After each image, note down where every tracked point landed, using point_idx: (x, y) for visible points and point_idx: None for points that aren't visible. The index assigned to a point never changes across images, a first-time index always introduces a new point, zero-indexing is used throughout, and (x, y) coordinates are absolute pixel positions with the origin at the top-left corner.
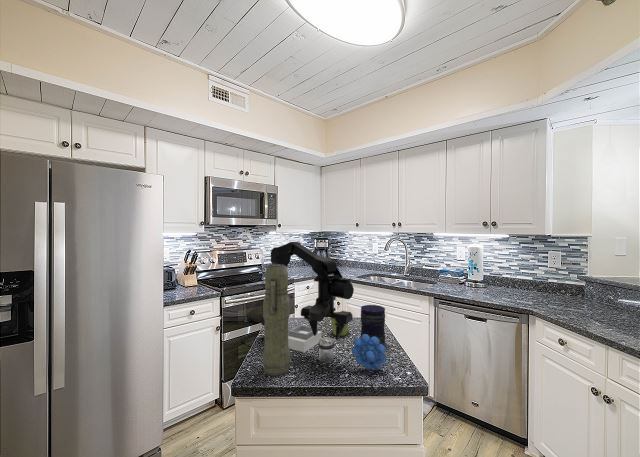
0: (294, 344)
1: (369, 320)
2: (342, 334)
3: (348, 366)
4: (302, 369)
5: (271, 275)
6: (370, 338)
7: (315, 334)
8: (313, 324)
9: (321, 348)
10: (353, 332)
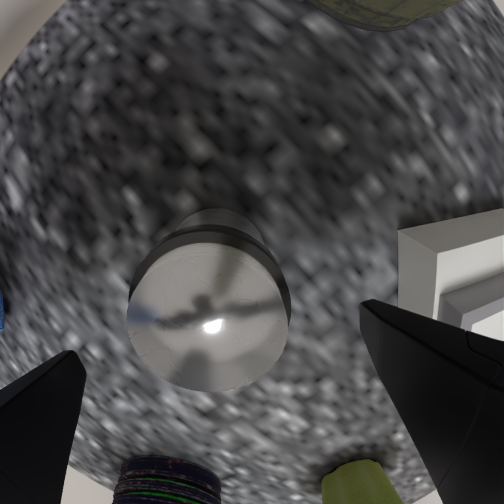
0: (478, 226)
1: None
2: (328, 478)
3: (62, 273)
4: (237, 39)
5: None
6: (134, 494)
7: (363, 321)
8: (453, 385)
9: (200, 226)
10: (307, 501)
